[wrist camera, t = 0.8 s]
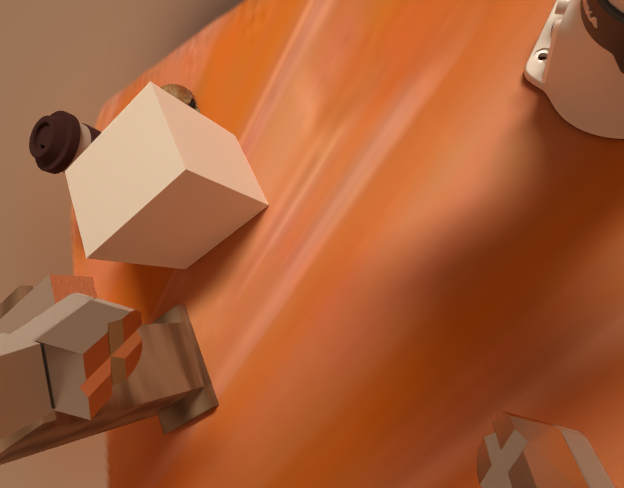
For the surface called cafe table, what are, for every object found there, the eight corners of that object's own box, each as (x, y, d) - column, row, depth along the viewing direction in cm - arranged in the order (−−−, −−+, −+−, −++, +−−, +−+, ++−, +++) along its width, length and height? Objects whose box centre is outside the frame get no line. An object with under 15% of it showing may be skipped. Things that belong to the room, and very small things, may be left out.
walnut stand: (215, 282, 56) (-11, 263, 31) (254, 383, 50) (15, 460, 25) (140, 336, 61) (-103, 358, 37) (167, 434, 55) (-98, 537, 31)
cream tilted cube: (234, 135, 58) (150, 81, 44) (269, 205, 53) (185, 169, 39) (160, 200, 64) (64, 171, 50) (185, 269, 59) (86, 258, 45)
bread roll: (210, 144, 66) (195, 117, 58) (154, 157, 65) (131, 132, 58) (202, 98, 68) (186, 67, 61) (148, 111, 68) (125, 81, 60)
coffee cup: (136, 132, 70) (51, 92, 57) (153, 170, 66) (66, 136, 53) (105, 167, 73) (18, 136, 59) (119, 204, 69) (29, 180, 56)
